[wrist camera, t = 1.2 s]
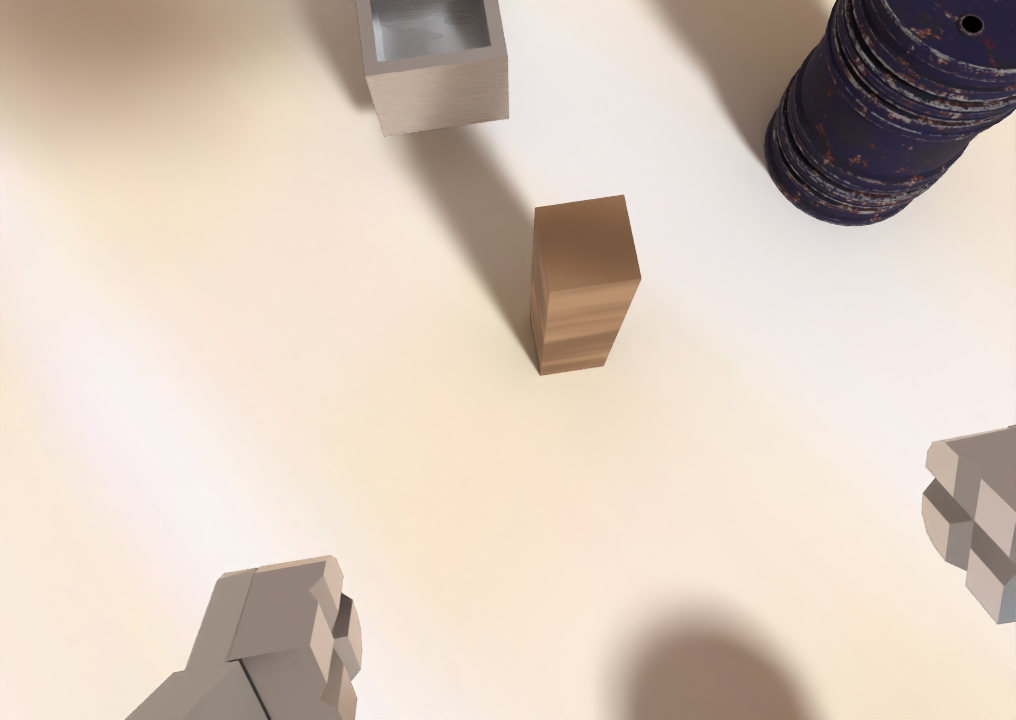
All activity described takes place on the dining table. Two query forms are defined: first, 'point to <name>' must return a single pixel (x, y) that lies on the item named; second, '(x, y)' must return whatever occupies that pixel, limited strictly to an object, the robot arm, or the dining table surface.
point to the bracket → (434, 62)
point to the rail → (581, 281)
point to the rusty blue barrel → (890, 103)
